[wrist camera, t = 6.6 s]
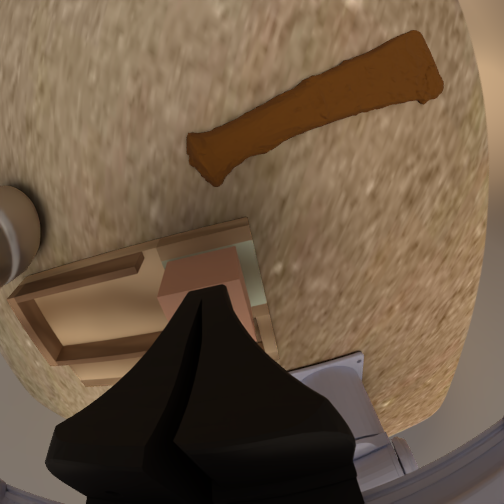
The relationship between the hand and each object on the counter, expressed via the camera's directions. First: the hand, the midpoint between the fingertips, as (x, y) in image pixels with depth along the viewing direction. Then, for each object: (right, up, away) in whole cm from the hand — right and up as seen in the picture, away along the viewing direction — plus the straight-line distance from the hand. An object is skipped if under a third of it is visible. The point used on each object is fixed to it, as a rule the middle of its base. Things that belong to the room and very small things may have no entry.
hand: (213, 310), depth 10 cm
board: (-7, -3, +12) cm, 14 cm away
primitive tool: (+6, +13, +6) cm, 16 cm away
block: (-1, 0, +9) cm, 9 cm away
